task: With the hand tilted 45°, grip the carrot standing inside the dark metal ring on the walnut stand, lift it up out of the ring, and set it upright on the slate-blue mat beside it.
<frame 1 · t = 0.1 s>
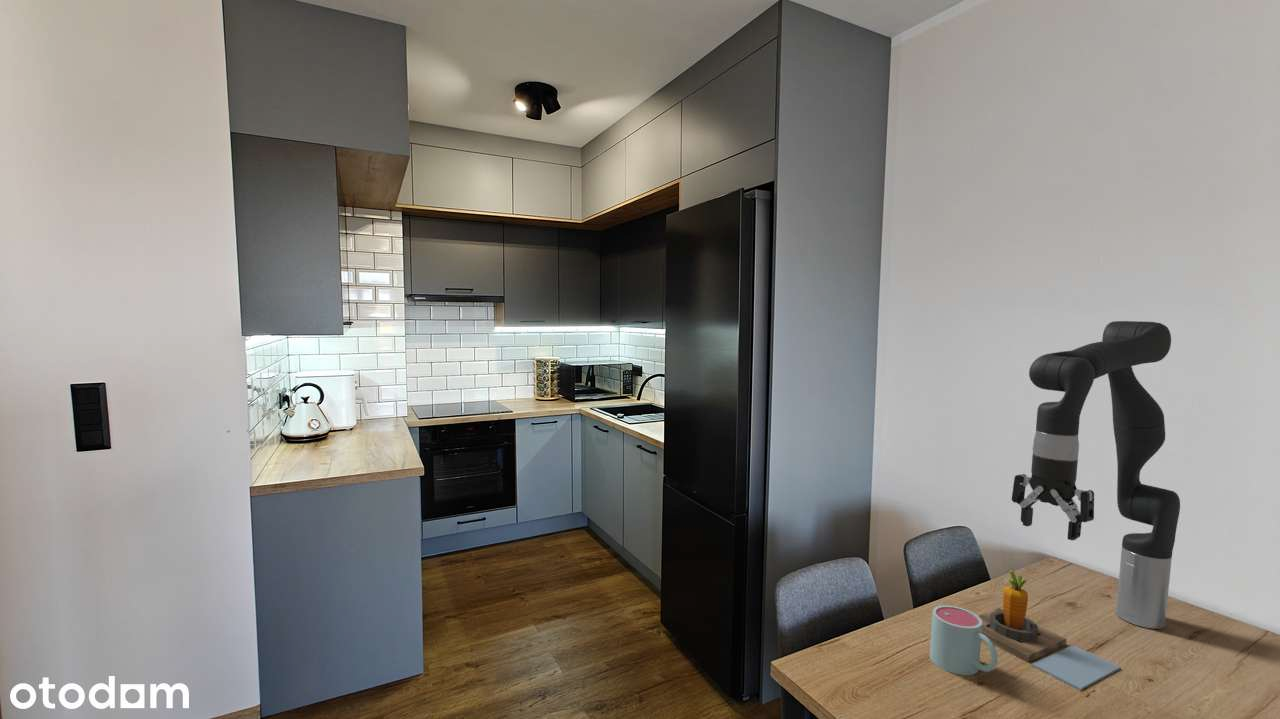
hand: (1048, 532, 120), 29 cm above the table, tool pointing down, fingers open, 8 cm apart
carrot: (1012, 637, 134), resting in ring stand
ring stand: (1012, 636, 134), on the table
mug: (963, 668, 122), on the table
slate mat: (1076, 667, 123), on the table
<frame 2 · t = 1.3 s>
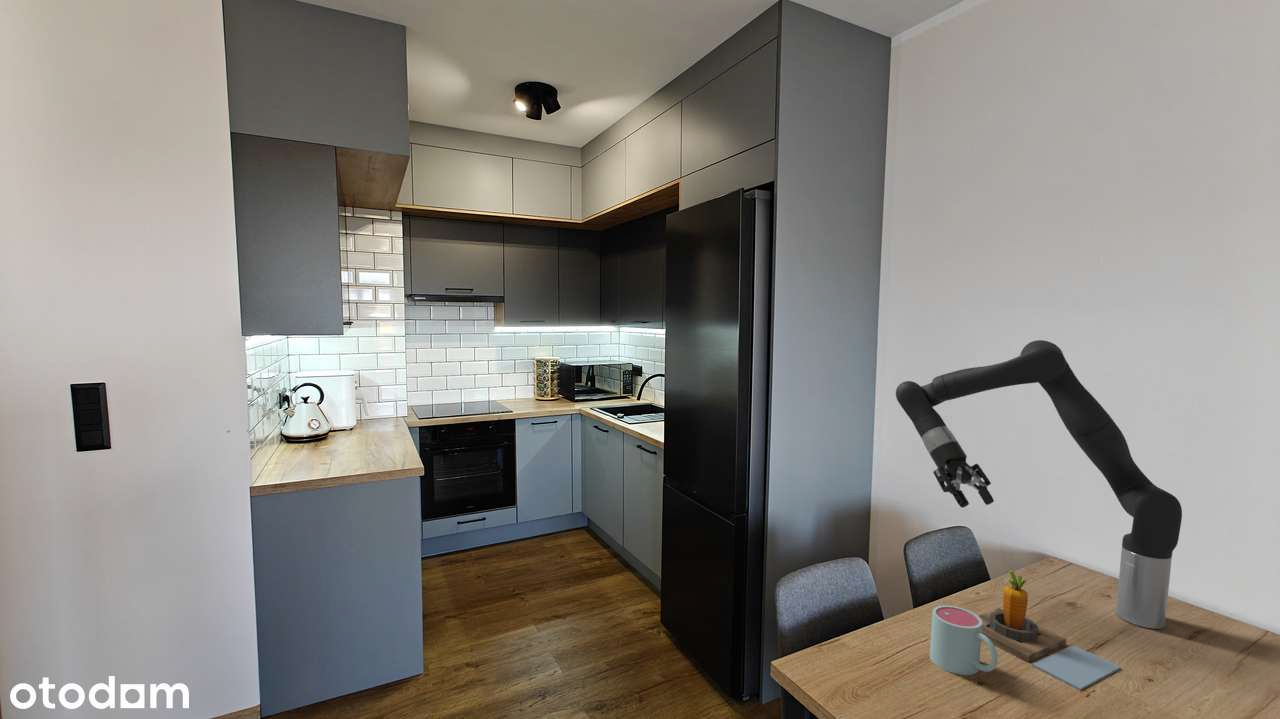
hand: (978, 504, 144), 27 cm above the table, tool tilted 45°, fingers open, 8 cm apart
nothing on the table moved.
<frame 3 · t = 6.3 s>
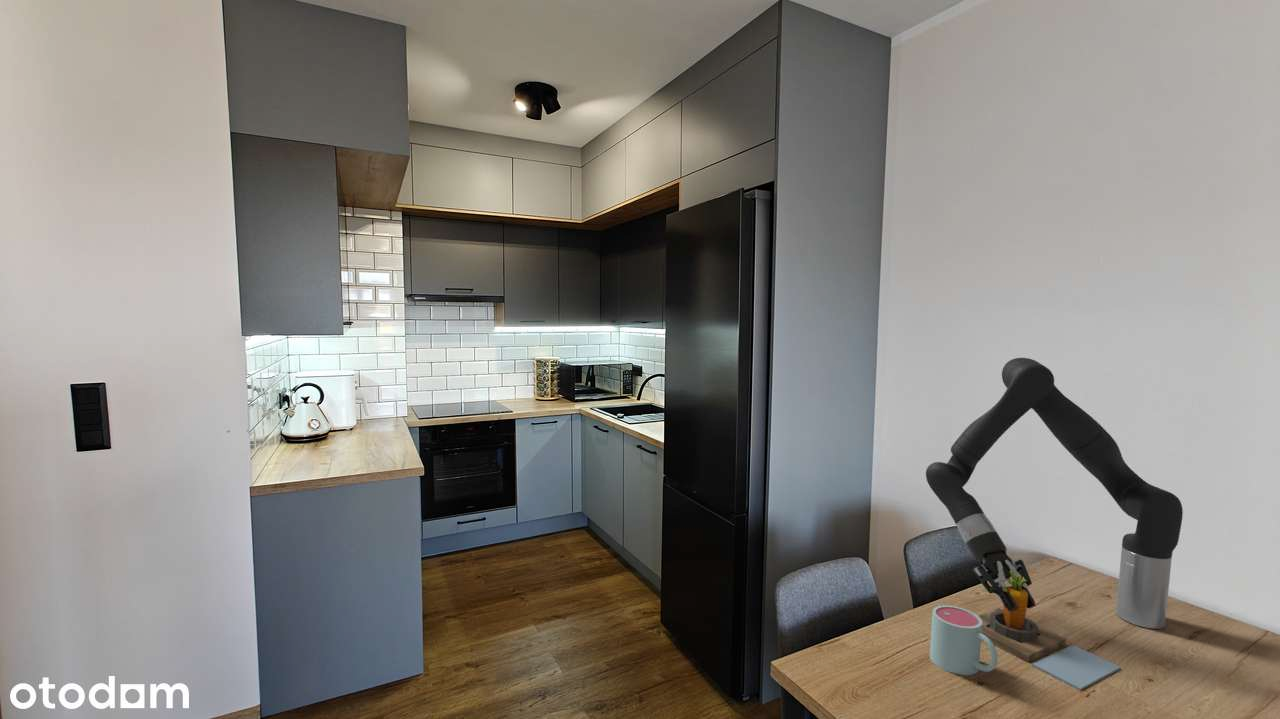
hand: (1022, 608, 132), 8 cm above the table, tool tilted 45°, fingers closed on carrot, 4 cm apart
carrot: (1012, 637, 134), resting in ring stand, touching gripper
everything else where it was.
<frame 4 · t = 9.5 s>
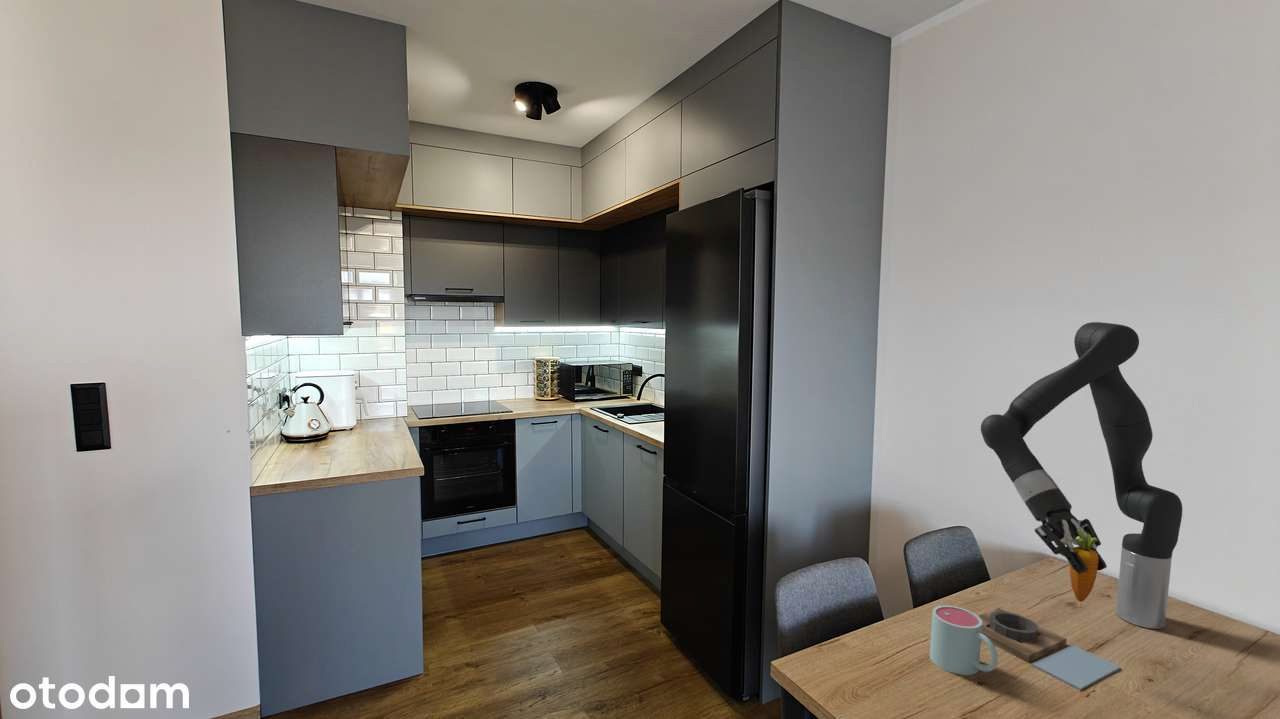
hand: (1092, 570, 120), 22 cm above the table, tool tilted 45°, fingers closed on carrot, 4 cm apart
carrot: (1080, 602, 122), point 14 cm above the table, touching gripper
everything else where it was.
when the fingers open (9 cm above the table, at t = 13.0 s): carrot drops 1 cm, resting on slate mat.
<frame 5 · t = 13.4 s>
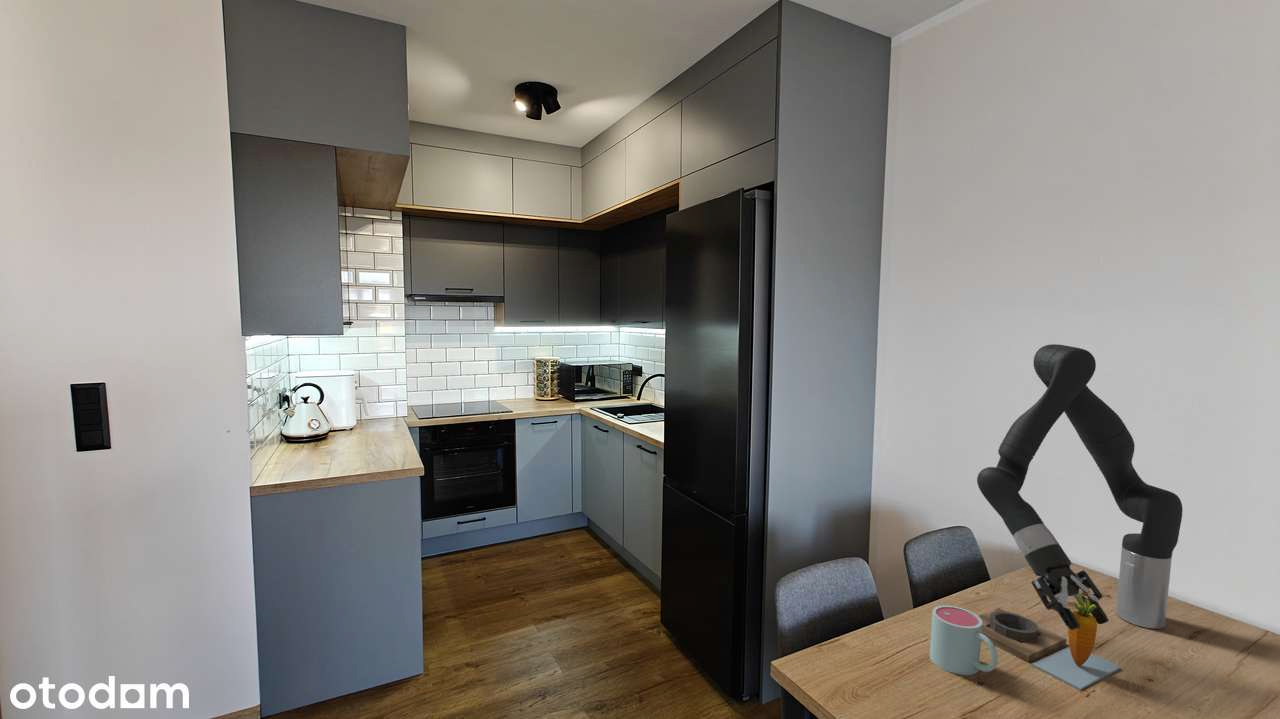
hand: (1090, 625, 120), 10 cm above the table, tool tilted 45°, fingers open, 8 cm apart
carrot: (1078, 666, 123), resting on slate mat
everything else where it was.
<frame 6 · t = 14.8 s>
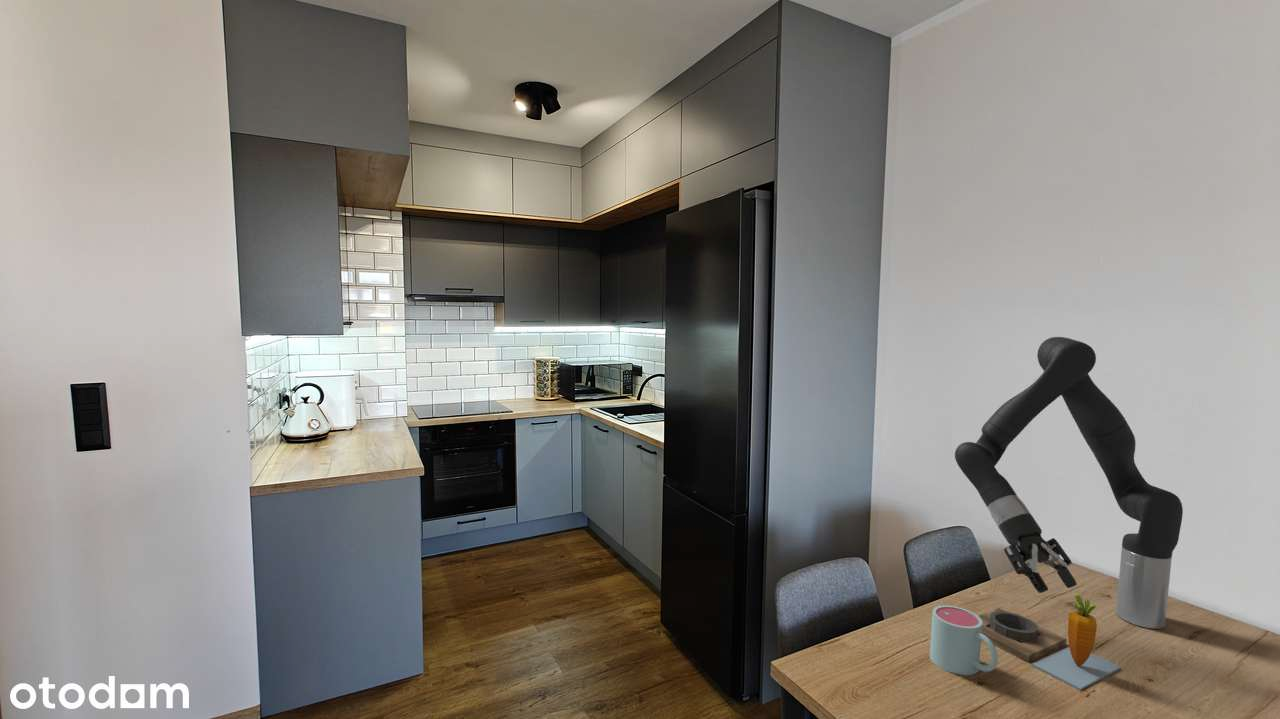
hand: (1058, 589, 127), 15 cm above the table, tool tilted 45°, fingers open, 8 cm apart
nothing on the table moved.
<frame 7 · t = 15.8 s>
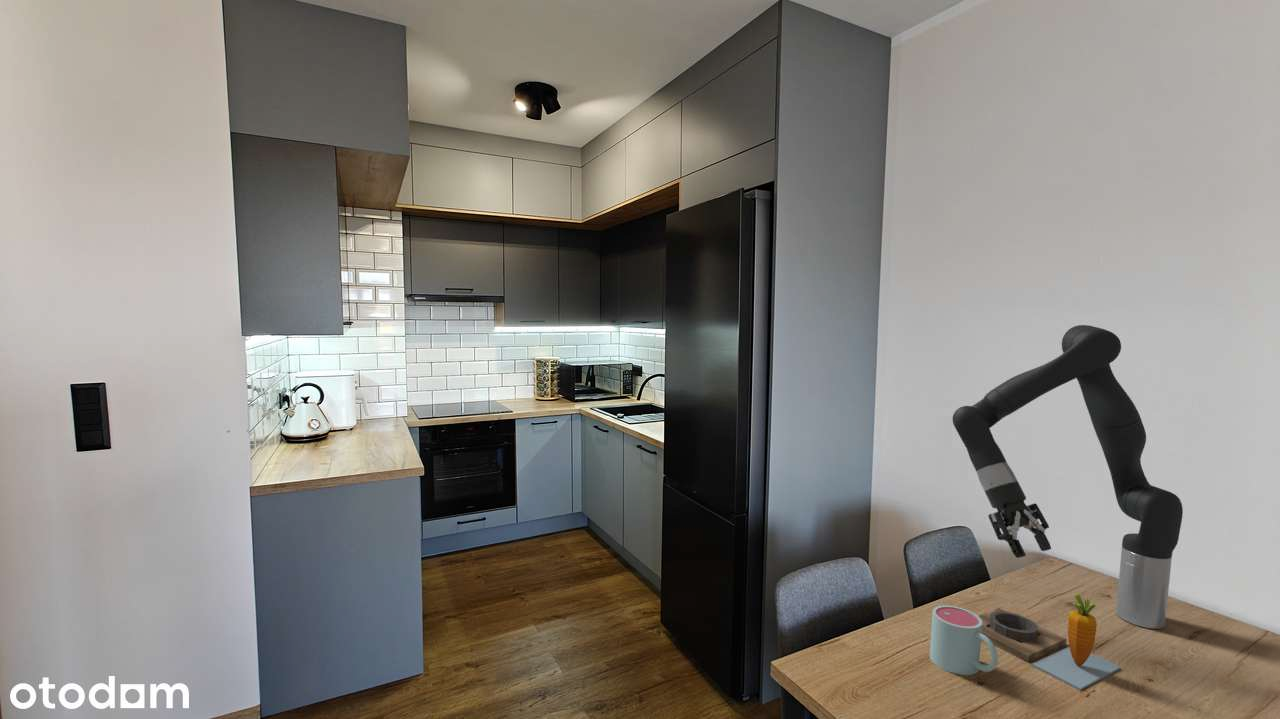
hand: (1034, 553, 134), 19 cm above the table, tool tilted 35°, fingers open, 8 cm apart
nothing on the table moved.
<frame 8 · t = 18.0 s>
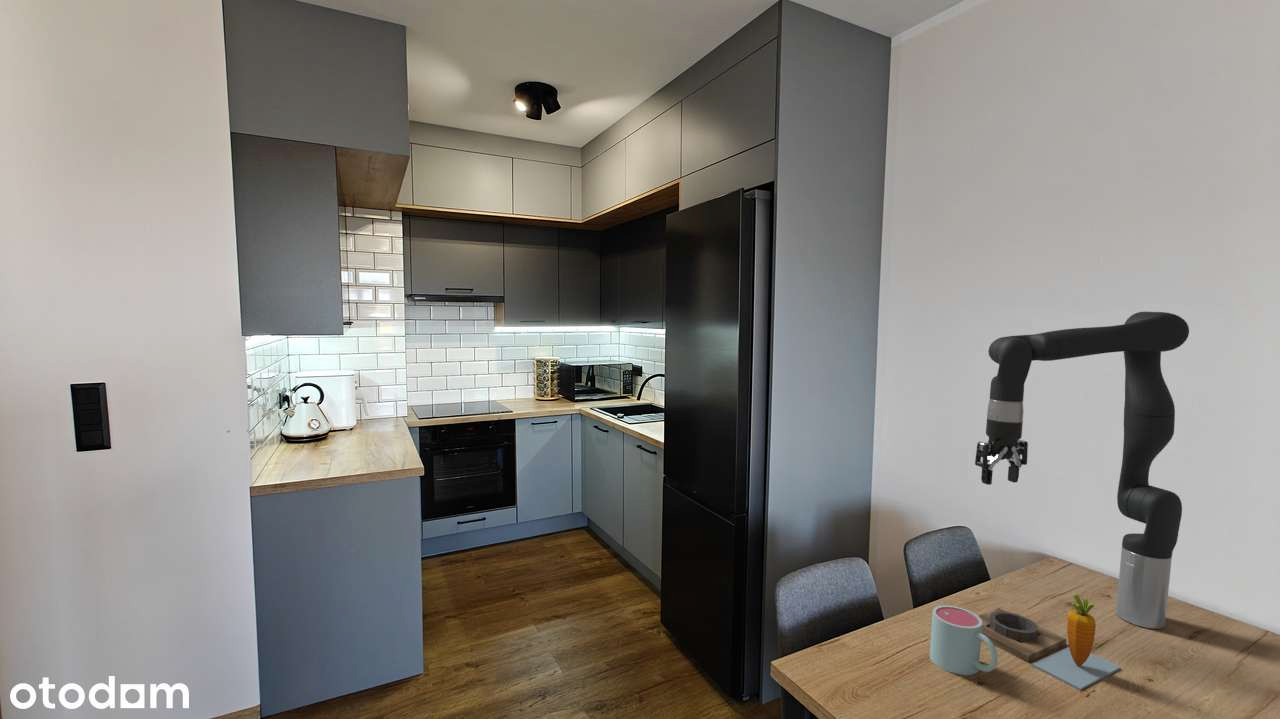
hand: (999, 482, 145), 32 cm above the table, tool pointing down, fingers open, 8 cm apart
nothing on the table moved.
at the end: carrot inside the target area on the slate mat (0.3 cm from its centre), point 0.2 cm above the slate mat's base; carrot tilted 1°; the gripper is holding nothing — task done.
